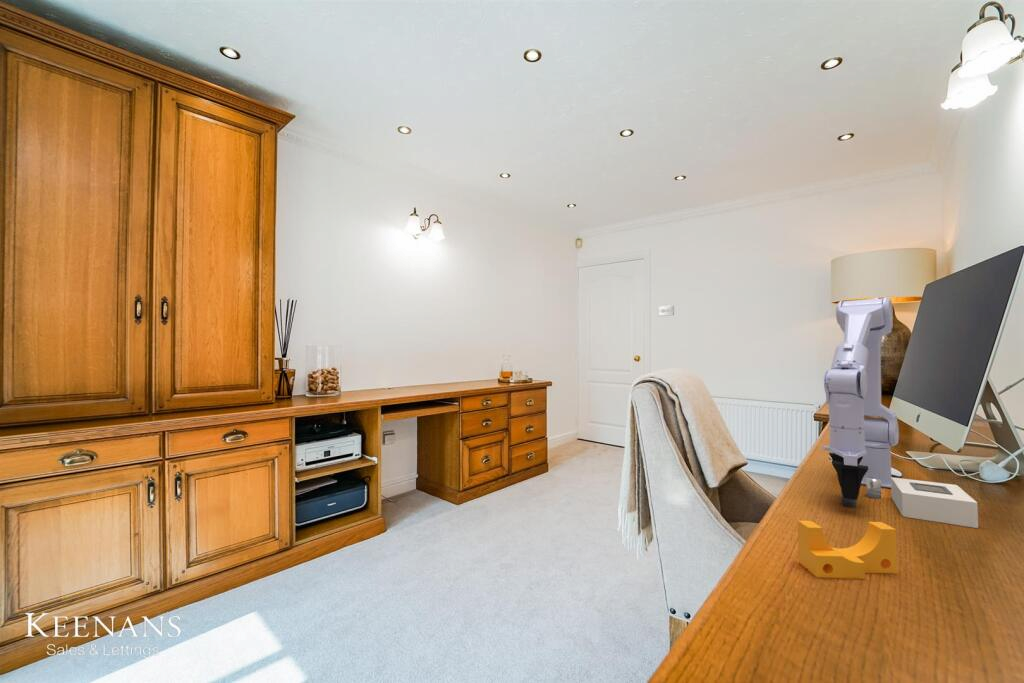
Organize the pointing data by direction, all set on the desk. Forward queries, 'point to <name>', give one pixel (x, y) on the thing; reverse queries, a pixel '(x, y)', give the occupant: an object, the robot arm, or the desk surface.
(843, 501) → the long pin
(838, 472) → the robot arm
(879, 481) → the short pin
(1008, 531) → the desk surface
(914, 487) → the pin block
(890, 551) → the pipe clamp
